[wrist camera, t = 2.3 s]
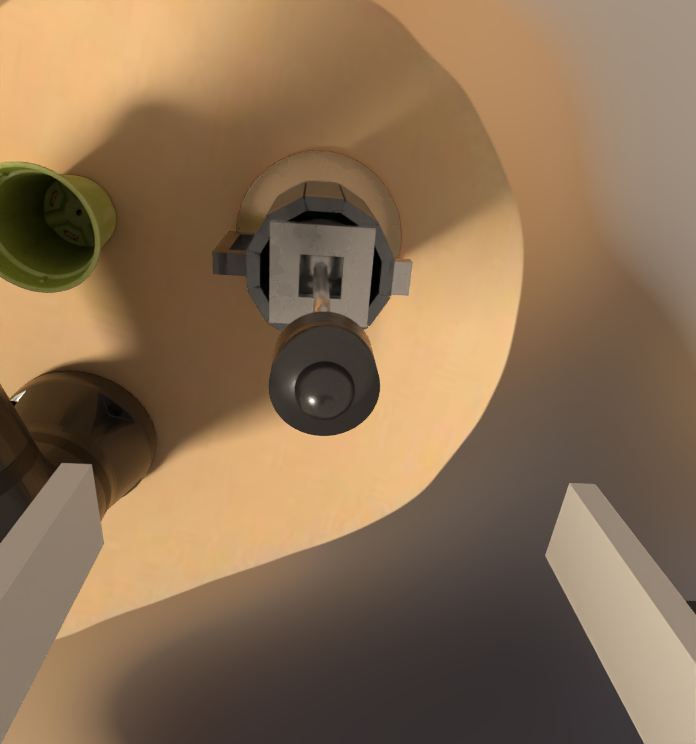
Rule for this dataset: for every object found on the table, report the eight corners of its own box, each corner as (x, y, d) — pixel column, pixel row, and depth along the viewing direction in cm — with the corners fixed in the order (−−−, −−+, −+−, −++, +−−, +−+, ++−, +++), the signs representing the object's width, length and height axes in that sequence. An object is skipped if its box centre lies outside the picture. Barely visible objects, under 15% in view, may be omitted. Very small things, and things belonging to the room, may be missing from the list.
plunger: (272, 307, 40) (232, 478, 20) (273, 214, 37) (227, 310, 17) (362, 312, 40) (406, 482, 21) (371, 220, 37) (430, 320, 18)
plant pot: (116, 283, 48) (77, 313, 40) (11, 234, 46) (-51, 256, 38) (151, 190, 45) (117, 204, 37) (40, 132, 42) (-22, 134, 35)
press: (236, 312, 50) (211, 370, 38) (232, 144, 43) (201, 150, 32) (391, 320, 51) (414, 379, 39) (409, 157, 45) (444, 168, 33)
